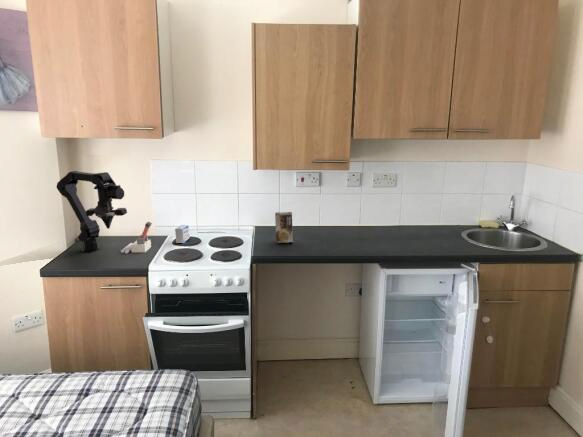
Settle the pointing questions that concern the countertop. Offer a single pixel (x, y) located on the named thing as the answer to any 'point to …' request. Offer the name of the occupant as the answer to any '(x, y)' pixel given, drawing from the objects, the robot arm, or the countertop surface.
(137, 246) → the switch box
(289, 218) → the coffee box
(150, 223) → the lever
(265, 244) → the countertop surface
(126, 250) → the cables
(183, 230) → the medicine box
